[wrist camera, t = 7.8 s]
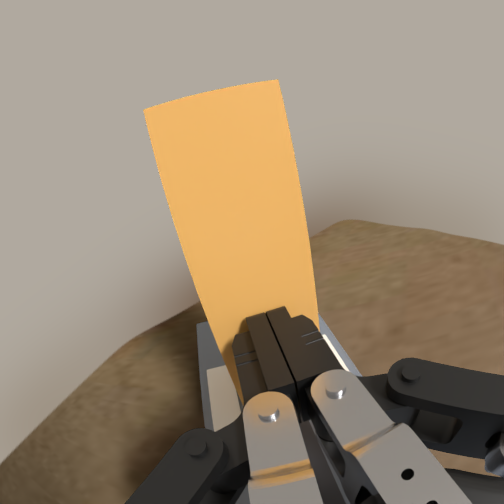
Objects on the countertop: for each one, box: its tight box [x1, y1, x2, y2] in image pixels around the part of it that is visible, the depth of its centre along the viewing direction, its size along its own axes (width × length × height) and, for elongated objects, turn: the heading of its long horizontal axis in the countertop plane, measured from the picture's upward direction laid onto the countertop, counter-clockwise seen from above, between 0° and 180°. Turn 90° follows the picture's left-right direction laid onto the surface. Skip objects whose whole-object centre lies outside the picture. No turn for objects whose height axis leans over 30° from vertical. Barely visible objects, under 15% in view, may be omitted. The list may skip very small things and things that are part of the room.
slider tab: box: [143, 79, 320, 406], centre depth 12 cm, size 5×4×14 cm
